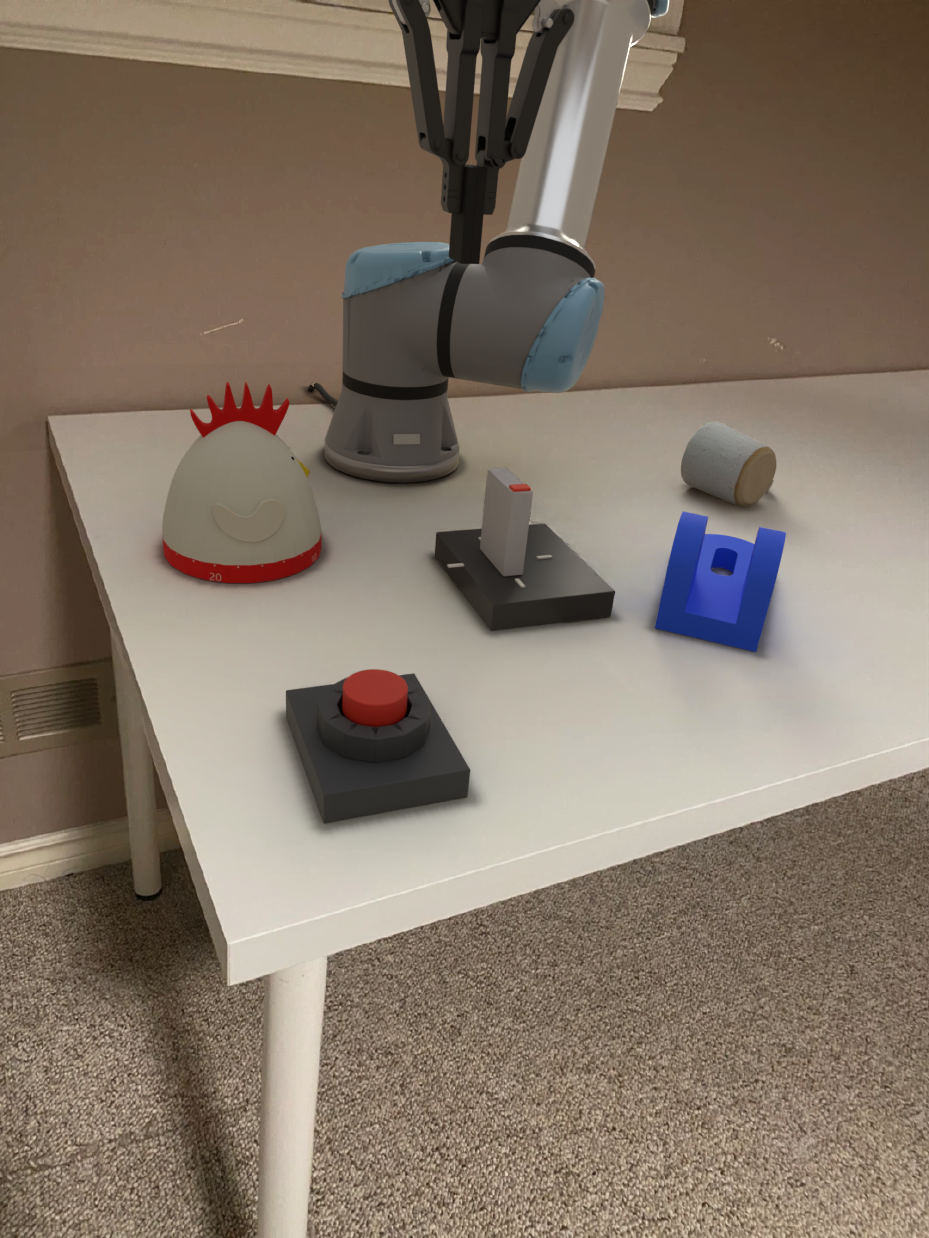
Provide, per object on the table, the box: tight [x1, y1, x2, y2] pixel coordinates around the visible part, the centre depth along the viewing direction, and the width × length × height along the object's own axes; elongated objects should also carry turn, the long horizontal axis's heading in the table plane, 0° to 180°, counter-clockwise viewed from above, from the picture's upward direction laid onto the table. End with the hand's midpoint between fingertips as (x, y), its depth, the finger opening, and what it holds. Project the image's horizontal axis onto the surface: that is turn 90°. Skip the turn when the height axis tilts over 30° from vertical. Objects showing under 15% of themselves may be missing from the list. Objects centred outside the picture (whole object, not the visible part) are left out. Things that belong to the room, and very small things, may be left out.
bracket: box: [654, 511, 787, 653], centre depth 83 cm, size 18×8×9 cm, turn 161°
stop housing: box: [285, 672, 471, 824], centre depth 60 cm, size 11×9×4 cm
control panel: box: [433, 523, 616, 632], centre depth 83 cm, size 14×12×3 cm
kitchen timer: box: [161, 381, 323, 584], centre depth 82 cm, size 14×14×15 cm
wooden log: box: [680, 420, 777, 507], centre depth 106 cm, size 11×8×8 cm
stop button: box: [342, 668, 408, 727], centre depth 59 cm, size 4×4×2 cm
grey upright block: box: [480, 467, 534, 576], centre depth 80 cm, size 6×2×8 cm, turn 21°
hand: (463, 260), depth 72 cm, fingers closed
